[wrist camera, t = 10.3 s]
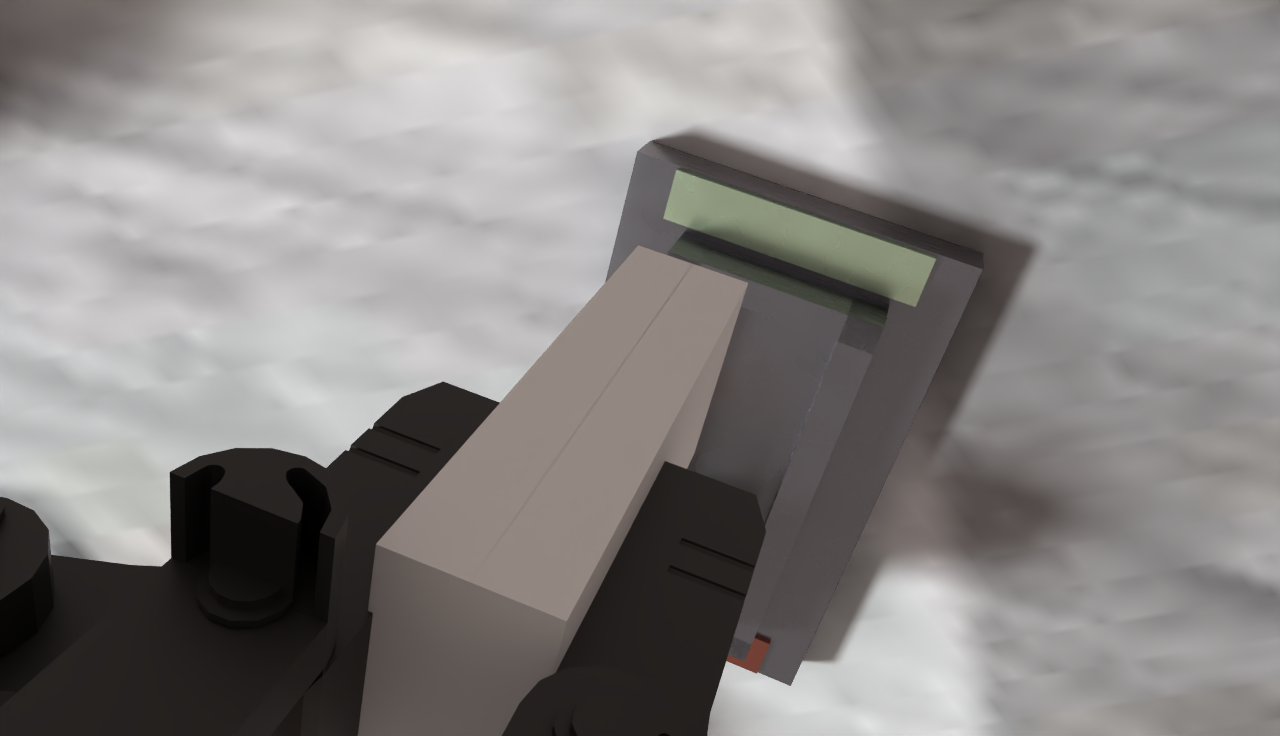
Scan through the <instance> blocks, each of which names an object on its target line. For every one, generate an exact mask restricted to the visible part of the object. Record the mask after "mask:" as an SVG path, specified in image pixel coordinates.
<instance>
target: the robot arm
mask: <svg viewBox="0 0 1280 736" xmlns="http://www.w3.org/2000/svg"><path fill="white" fill-rule="evenodd" d="M747 285H748V283H747V282H745V281H742V280H739V279H736V278H733V277H730V276H727V275H724V274H721V273H718V272H715V271H712V270H709V269H706V268H703V267H700V266H698V265H695V264H692V263H689V262H686V261H683V260H680V259H677V258H674V257H671V256H668V255H665V254H662V253H659V252H656V251H654V250H651V249H648V248H645V247H642V246H639V245H638V246H637V247H636V249H635V250H634V251H633V252H632V253H631V254H630V255H629V256H628V258H627V259H626V260H625V261H624V262H623V263H622V264H621V266H620V267H619V268H618V269H617V270H616V271H615V272H614V274H613V275H612V276H611V277H610V278H609V279H608V280H607V282H606V283H605V284H604V285H603V286H602V287H601V288H600V290H599V291H598V292H597V293H596V294H595V295H594V296H593V297H592V299H591V300H590V301H589V302H588V303H587V304H586V305H585V307H584V308H583V309H582V310H581V311H580V312H579V313H578V315H577V316H576V317H575V318H574V319H573V320H572V321H571V323H570V324H569V325H568V326H567V327H566V328H565V329H564V331H563V332H562V333H561V334H560V335H559V336H558V337H557V339H556V340H555V341H554V342H553V343H552V344H551V345H550V346H549V348H548V349H547V350H546V351H545V352H544V353H543V354H542V356H541V357H540V358H539V359H538V360H537V361H536V362H535V364H534V365H533V366H532V367H531V368H530V369H529V370H528V372H527V373H526V374H525V375H524V376H523V377H522V378H521V380H520V381H519V382H518V383H517V384H516V385H515V386H514V387H513V389H512V390H511V391H510V392H509V393H508V394H507V395H506V397H505V398H504V399H503V400H502V401H501V402H500V403H499V402H496V401H494V400H491V399H488V398H486V397H483V396H480V395H478V394H475V393H472V392H470V391H467V390H464V389H462V388H459V387H456V386H453V385H451V384H448V383H445V382H441V383H438V384H436V385H433V386H431V387H428V388H425V389H423V390H420V391H417V392H415V393H412V394H410V395H407V396H404V397H402V398H401V399H400V400H399V401H398V402H397V403H395V404H394V405H393V406H392V407H391V408H390V409H389V410H388V411H387V412H386V413H385V414H384V415H383V416H382V417H381V418H379V419H378V420H377V421H376V422H375V423H374V426H373V428H372V429H368V430H367V431H366V432H364V433H363V434H362V435H361V436H360V437H359V438H358V439H357V440H356V441H355V442H354V443H353V444H352V445H351V448H350V450H349V451H346V450H345V451H344V452H343V453H342V454H341V455H340V456H339V457H338V458H337V459H336V460H334V461H333V462H332V463H331V464H330V465H329V466H328V467H327V468H324V467H323V466H321V465H319V464H317V463H316V462H314V461H312V460H311V459H309V458H307V457H305V456H301V455H297V454H293V453H289V452H285V451H281V450H277V449H273V448H234V449H230V450H225V451H221V452H216V453H212V454H207V455H203V456H199V457H197V458H195V459H194V460H192V461H190V462H188V463H186V464H184V465H182V466H180V467H178V468H177V469H175V470H173V471H171V472H170V509H171V559H170V560H169V561H168V562H166V563H165V564H164V565H163V566H161V567H160V566H138V565H126V564H118V563H111V562H103V561H95V560H87V559H79V558H71V557H64V556H56V555H51V549H50V539H49V530H48V528H47V527H46V526H45V524H44V523H43V522H42V521H41V519H40V518H39V517H38V515H37V514H36V513H35V511H34V510H32V509H29V508H27V507H25V506H23V505H21V504H19V503H17V502H14V501H12V500H10V499H8V498H4V497H0V736H707V731H708V724H709V717H710V711H711V708H712V705H713V702H714V699H715V695H716V692H717V689H718V686H719V682H720V679H721V676H722V673H723V669H724V666H725V663H726V660H727V657H728V653H729V650H730V647H731V644H732V640H733V637H734V634H735V631H736V628H737V624H738V621H739V618H740V615H741V611H742V608H743V605H744V601H745V598H746V595H747V592H748V589H749V586H750V582H751V579H752V576H753V572H754V569H755V566H756V563H757V560H758V557H759V553H760V550H761V547H762V544H763V541H764V537H765V534H766V529H765V525H764V521H763V518H762V514H761V511H760V507H759V504H758V500H757V496H756V495H755V494H752V493H750V492H747V491H744V490H742V489H739V488H736V487H734V486H731V485H728V484H726V483H723V482H720V481H718V480H715V479H712V478H710V477H707V476H704V475H701V474H699V473H696V472H693V471H691V470H688V469H687V468H688V466H689V463H690V461H691V459H692V457H693V455H694V453H695V450H696V446H697V443H698V440H699V437H700V434H701V431H702V427H703V424H704V421H705V418H706V415H707V412H708V409H709V405H710V402H711V399H712V396H713V393H714V390H715V386H716V383H717V380H718V377H719V374H720V371H721V368H722V364H723V361H724V358H725V355H726V352H727V349H728V345H729V342H730V339H731V336H732V333H733V330H734V326H735V323H736V320H737V317H738V314H739V311H740V308H741V304H742V301H743V298H744V295H745V292H746V289H747Z"/></svg>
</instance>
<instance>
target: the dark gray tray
mask: <svg viewBox="0 0 1280 736" xmlns="http://www.w3.org/2000/svg"><path fill="white" fill-rule="evenodd" d="M638 245H639V246H642V247H645V248H648V249H651V250H654V251H656V252H659V253H662V254H665V255H668V256H671V257H674V258H677V259H680V260H683V261H686V262H689V263H692V264H695V265H698V266H700V267H703V268H706V269H709V270H712V271H715V272H718V273H721V274H724V275H727V276H730V277H733V278H736V279H739V280H742V281H745V282H747V283H748V285H747V289H746V292H745V295H744V298H743V301H742V304H741V308H740V311H739V314H738V317H737V320H736V323H735V326H734V330H733V333H732V336H731V339H730V342H729V345H728V349H727V352H726V355H725V358H724V361H723V364H722V368H721V371H720V374H719V377H718V380H717V383H716V386H715V390H714V393H713V396H712V399H711V402H710V405H709V409H708V412H707V415H706V418H705V421H704V424H703V427H702V431H701V434H700V437H699V440H698V443H697V446H696V450H695V453H694V455H693V457H692V459H691V461H690V463H689V466H688V468H687V469H688V470H691V471H693V472H696V473H699V474H701V475H704V476H707V477H710V478H712V479H715V480H718V481H720V482H723V483H726V484H728V485H731V486H734V487H736V488H739V489H742V490H744V491H747V492H750V493H752V494H755V495H756V496H757V500H758V504H759V507H760V511H761V514H762V518H763V521H764V525H765V529H766V534H765V537H764V541H763V544H762V547H761V550H760V553H759V557H758V560H757V563H756V566H755V569H754V572H753V576H752V579H751V582H750V586H749V589H748V592H747V595H746V598H745V601H744V605H743V608H742V611H741V615H740V618H739V621H738V624H737V628H736V631H735V634H734V637H733V640H732V644H731V647H730V650H729V653H728V657H727V660H726V661H728V662H730V663H733V664H735V665H738V666H740V667H742V668H745V669H747V670H750V671H752V672H754V673H757V672H759V673H761V674H763V675H766V676H768V677H771V678H773V679H775V680H778V681H780V682H783V683H785V684H787V685H790V686H791V684H792V682H793V680H794V677H795V675H796V673H797V671H798V669H799V667H800V664H801V662H802V660H803V658H804V656H805V654H806V651H807V649H808V647H809V645H810V643H811V641H812V638H813V636H814V634H815V632H816V630H817V628H818V626H819V623H820V621H821V619H822V617H823V615H824V613H825V610H826V608H827V606H828V604H829V602H830V600H831V597H832V595H833V593H834V591H835V589H836V587H837V584H838V582H839V580H840V578H841V576H842V574H843V571H844V569H845V567H846V565H847V563H848V561H849V558H850V556H851V554H852V552H853V550H854V548H855V545H856V543H857V541H858V539H859V537H860V535H861V532H862V530H863V528H864V526H865V524H866V522H867V519H868V517H869V515H870V513H871V511H872V509H873V506H874V504H875V502H876V500H877V498H878V496H879V493H880V491H881V489H882V487H883V485H884V483H885V481H886V478H887V476H888V474H889V472H890V470H891V468H892V465H893V463H894V461H895V459H896V457H897V455H898V452H899V450H900V448H901V446H902V444H903V442H904V439H905V437H906V435H907V433H908V431H909V429H910V426H911V424H912V422H913V420H914V418H915V416H916V413H917V411H918V409H919V407H920V405H921V403H922V400H923V398H924V396H925V394H926V392H927V390H928V387H929V385H930V383H931V381H932V379H933V377H934V374H935V372H936V370H937V368H938V366H939V364H940V361H941V359H942V357H943V355H944V353H945V351H946V349H947V346H948V344H949V342H950V340H951V338H952V336H953V333H954V331H955V329H956V327H957V325H958V323H959V320H960V318H961V316H962V314H963V312H964V310H965V307H966V305H967V303H968V301H969V299H970V297H971V294H972V292H973V290H974V288H975V286H976V284H977V281H978V279H979V277H980V275H981V273H982V271H983V254H982V253H979V252H976V251H973V250H970V249H967V248H964V247H961V246H958V245H955V244H953V243H950V242H947V241H944V240H941V239H938V238H935V237H932V236H929V235H926V234H923V233H920V232H917V231H914V230H911V229H908V228H905V227H902V226H899V225H896V224H894V223H891V222H888V221H885V220H882V219H879V218H876V217H873V216H870V215H867V214H864V213H861V212H858V211H855V210H852V209H849V208H846V207H843V206H840V205H838V204H835V203H832V202H829V201H826V200H823V199H820V198H817V197H814V196H811V195H808V194H805V193H802V192H799V191H796V190H793V189H790V188H787V187H784V186H782V185H779V184H776V183H773V182H770V181H767V180H764V179H761V178H758V177H755V176H752V175H749V174H746V173H743V172H740V171H737V170H734V169H731V168H728V167H726V166H723V165H720V164H717V163H714V162H711V161H708V160H705V159H702V158H699V157H696V156H693V155H690V154H687V153H684V152H681V151H678V150H675V149H672V148H669V147H667V146H664V145H661V144H658V143H655V142H652V141H650V142H648V143H647V144H646V145H645V146H644V147H642V148H641V149H640V150H639V151H637V155H636V160H635V164H634V168H633V172H632V176H631V180H630V184H629V188H628V192H627V196H626V200H625V204H624V208H623V213H622V217H621V221H620V225H619V229H618V233H617V237H616V241H615V245H614V249H613V253H612V257H611V261H610V266H609V270H608V274H607V278H606V282H607V280H608V279H609V278H610V277H611V276H612V275H613V274H614V272H615V271H616V270H617V269H618V268H619V267H620V266H621V264H622V263H623V262H624V261H625V260H626V259H627V258H628V256H629V255H630V254H631V253H632V252H633V251H634V250H635V249H636V247H637V246H638ZM606 282H605V283H606Z"/></svg>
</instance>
